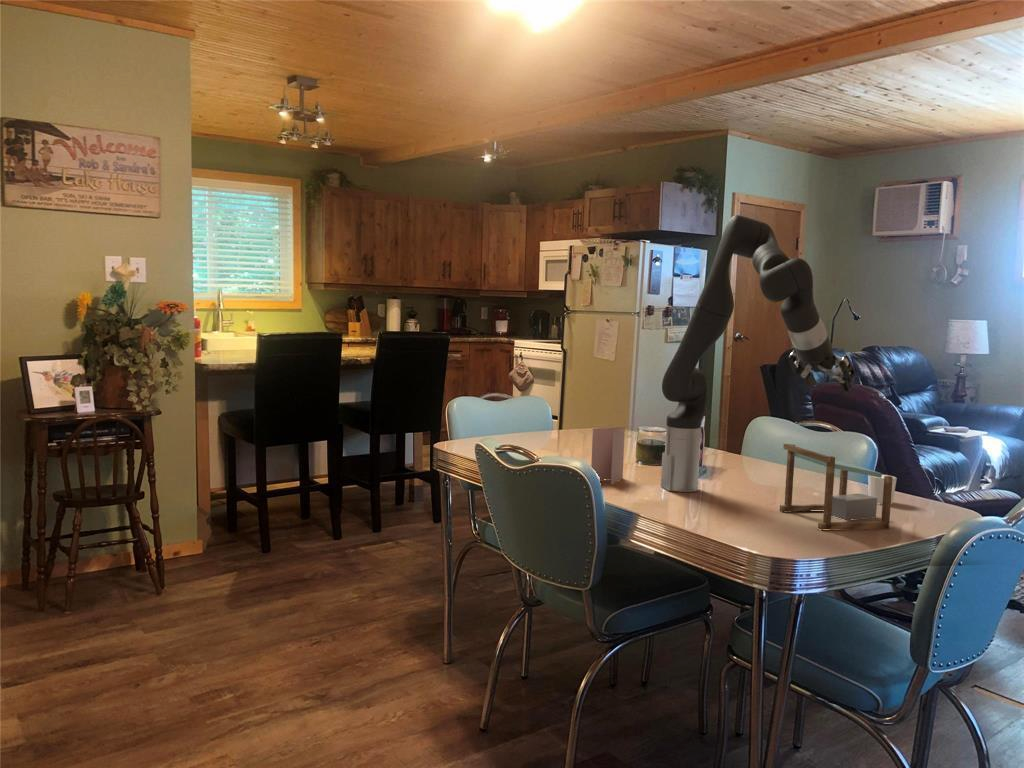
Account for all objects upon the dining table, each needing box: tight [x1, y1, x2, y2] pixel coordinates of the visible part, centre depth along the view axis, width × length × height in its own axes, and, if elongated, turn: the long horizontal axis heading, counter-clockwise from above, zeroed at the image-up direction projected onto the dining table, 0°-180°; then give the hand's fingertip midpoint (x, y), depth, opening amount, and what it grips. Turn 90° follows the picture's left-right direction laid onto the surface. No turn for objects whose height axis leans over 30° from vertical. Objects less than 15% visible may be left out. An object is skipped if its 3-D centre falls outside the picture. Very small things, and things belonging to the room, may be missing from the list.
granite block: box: [832, 492, 878, 521], centre depth 186 cm, size 5×5×10 cm
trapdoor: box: [793, 452, 883, 478], centre depth 181 cm, size 14×14×1 cm
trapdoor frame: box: [779, 443, 893, 531], centre depth 182 cm, size 17×18×17 cm
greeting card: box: [590, 426, 626, 486], centre depth 218 cm, size 11×7×15 cm, turn 121°
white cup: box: [867, 473, 898, 505], centre depth 202 cm, size 7×7×7 cm
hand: (830, 388), depth 179 cm, fingers open, 8 cm apart
